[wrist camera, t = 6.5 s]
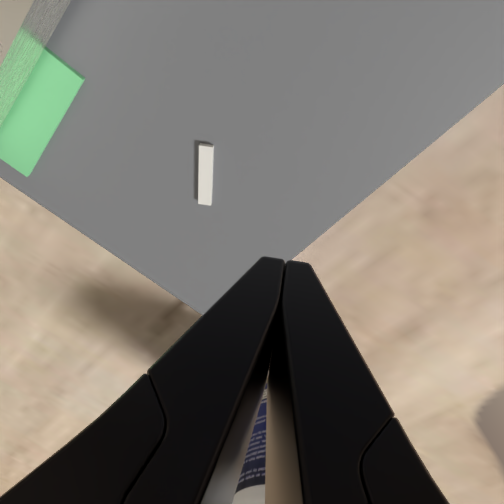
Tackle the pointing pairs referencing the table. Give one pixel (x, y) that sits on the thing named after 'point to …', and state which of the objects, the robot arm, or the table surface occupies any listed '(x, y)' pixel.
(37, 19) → the pointer
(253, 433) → the pill bottle
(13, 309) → the table surface
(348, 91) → the dial plate
